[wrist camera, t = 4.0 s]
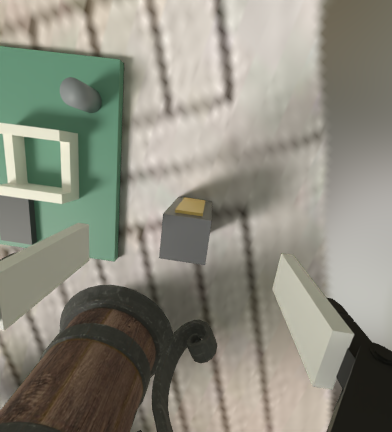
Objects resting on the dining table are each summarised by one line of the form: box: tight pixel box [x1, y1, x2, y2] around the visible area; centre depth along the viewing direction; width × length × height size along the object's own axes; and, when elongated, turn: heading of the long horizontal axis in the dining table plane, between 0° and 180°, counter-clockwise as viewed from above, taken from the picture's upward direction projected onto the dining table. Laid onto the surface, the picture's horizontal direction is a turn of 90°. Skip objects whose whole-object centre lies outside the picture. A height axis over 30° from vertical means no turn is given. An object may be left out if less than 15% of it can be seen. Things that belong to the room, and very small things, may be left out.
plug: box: [159, 197, 212, 265], centre depth 22 cm, size 4×4×8 cm
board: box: [0, 46, 124, 261], centre depth 24 cm, size 22×16×4 cm
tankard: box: [0, 285, 217, 432], centre depth 22 cm, size 24×17×20 cm
